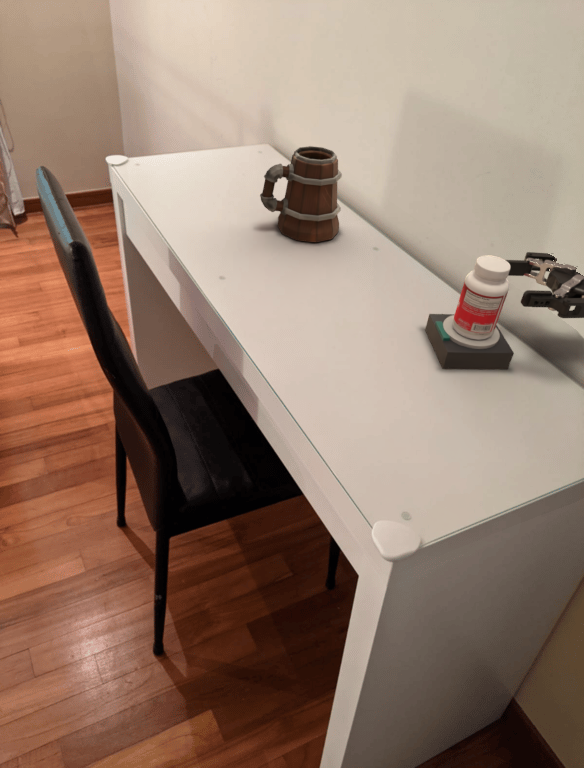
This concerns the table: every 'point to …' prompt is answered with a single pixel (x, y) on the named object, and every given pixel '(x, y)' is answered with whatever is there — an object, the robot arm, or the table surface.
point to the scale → (466, 346)
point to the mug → (306, 195)
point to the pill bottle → (482, 298)
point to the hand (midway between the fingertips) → (511, 282)
